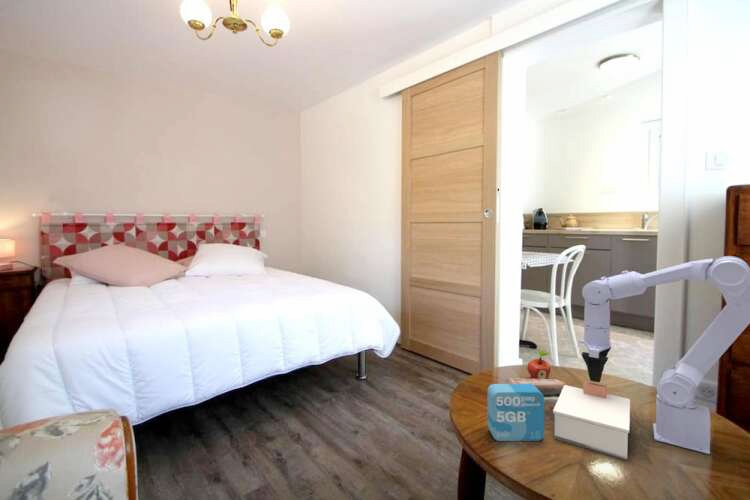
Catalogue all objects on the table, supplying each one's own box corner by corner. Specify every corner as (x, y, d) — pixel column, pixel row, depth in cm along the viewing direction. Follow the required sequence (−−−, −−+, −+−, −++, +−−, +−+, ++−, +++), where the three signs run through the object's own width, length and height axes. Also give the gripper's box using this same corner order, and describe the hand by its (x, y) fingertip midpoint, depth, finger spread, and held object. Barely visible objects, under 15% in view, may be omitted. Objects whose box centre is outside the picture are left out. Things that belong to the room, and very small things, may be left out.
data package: (492, 441, 83) (492, 392, 82) (487, 430, 87) (487, 383, 86) (544, 441, 82) (544, 391, 81) (536, 430, 87) (536, 383, 86)
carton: (628, 426, 87) (628, 402, 87) (627, 460, 75) (627, 433, 74) (565, 410, 96) (565, 388, 95) (554, 438, 83) (554, 414, 83)
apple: (549, 387, 109) (549, 356, 109) (525, 383, 113) (525, 352, 112) (551, 378, 116) (551, 349, 115) (529, 374, 120) (529, 346, 119)
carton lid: (630, 401, 87) (630, 388, 87) (629, 433, 74) (629, 417, 74) (564, 387, 96) (564, 374, 96) (553, 413, 83) (553, 399, 82)
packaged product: (512, 388, 100) (502, 374, 110) (512, 404, 100) (502, 389, 110) (577, 388, 99) (560, 374, 109) (577, 405, 99) (560, 389, 109)
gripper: (583, 318, 100) (582, 364, 101) (575, 330, 89) (575, 382, 90) (612, 321, 96) (612, 369, 97) (608, 334, 85) (608, 389, 85)
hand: (596, 376), depth 93 cm, fingers open, 7 cm apart
